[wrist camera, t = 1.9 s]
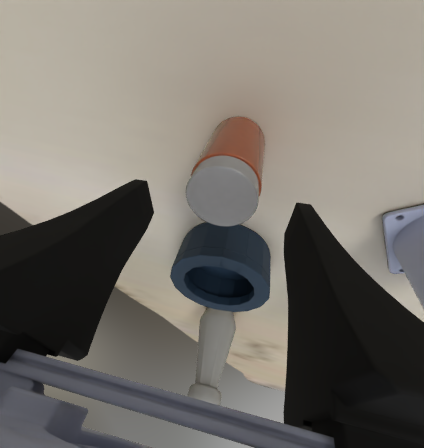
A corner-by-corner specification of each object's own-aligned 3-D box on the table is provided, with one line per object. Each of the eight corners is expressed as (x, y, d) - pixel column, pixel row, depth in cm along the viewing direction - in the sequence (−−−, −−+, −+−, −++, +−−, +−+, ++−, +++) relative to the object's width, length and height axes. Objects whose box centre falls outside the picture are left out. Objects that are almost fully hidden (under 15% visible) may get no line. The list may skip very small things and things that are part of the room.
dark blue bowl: (247, 209, 20) (241, 246, 17) (283, 272, 25) (284, 309, 22) (167, 233, 25) (151, 265, 21) (211, 282, 30) (203, 313, 27)
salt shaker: (198, 307, 37) (172, 403, 27) (214, 297, 33) (191, 404, 24) (225, 321, 38) (210, 416, 29) (244, 312, 34) (233, 419, 25)
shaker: (251, 104, 14) (238, 149, 9) (273, 157, 16) (272, 217, 11) (201, 132, 16) (168, 182, 11) (226, 176, 18) (208, 234, 13)
